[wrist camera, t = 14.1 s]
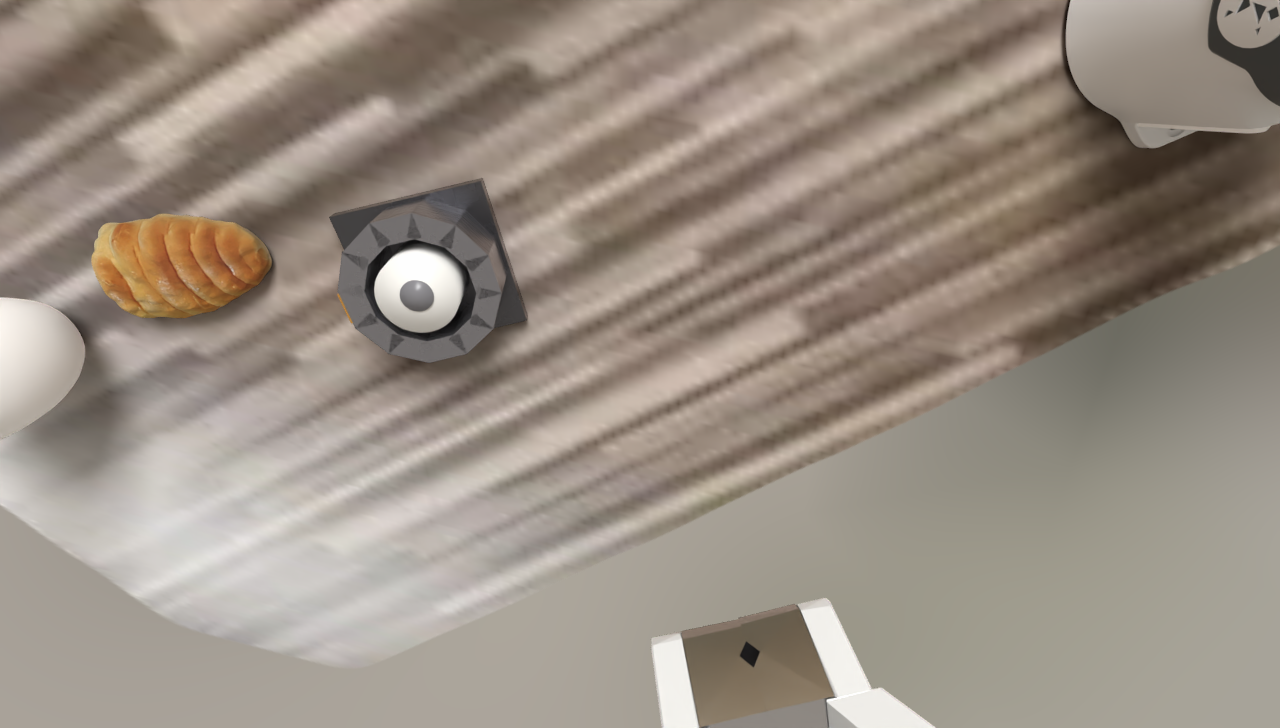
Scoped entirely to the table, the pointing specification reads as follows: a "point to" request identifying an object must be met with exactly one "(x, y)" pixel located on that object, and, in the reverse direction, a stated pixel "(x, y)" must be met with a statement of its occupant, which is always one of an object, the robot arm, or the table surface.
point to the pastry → (177, 264)
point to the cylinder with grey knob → (421, 287)
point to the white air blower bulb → (35, 361)
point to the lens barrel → (441, 220)
